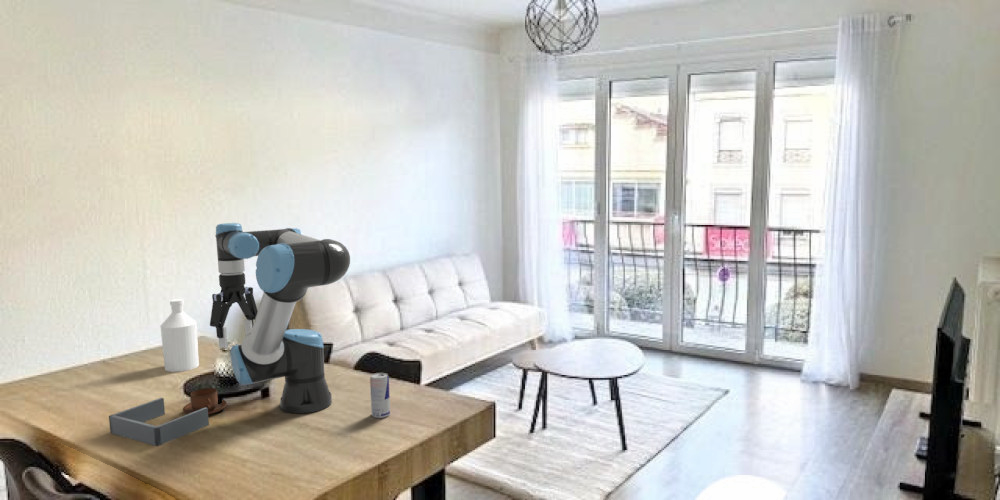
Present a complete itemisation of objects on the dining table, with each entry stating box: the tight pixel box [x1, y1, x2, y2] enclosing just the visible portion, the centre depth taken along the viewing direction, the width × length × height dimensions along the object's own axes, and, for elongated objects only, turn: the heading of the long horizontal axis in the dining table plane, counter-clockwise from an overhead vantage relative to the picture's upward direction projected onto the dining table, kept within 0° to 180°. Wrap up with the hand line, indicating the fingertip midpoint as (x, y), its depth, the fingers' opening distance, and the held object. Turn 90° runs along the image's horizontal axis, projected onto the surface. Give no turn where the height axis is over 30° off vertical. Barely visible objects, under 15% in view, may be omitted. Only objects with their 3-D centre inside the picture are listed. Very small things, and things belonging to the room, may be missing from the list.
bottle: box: [160, 298, 200, 373], centre depth 243 cm, size 12×12×25 cm
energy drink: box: [369, 372, 391, 419], centre depth 194 cm, size 5×5×12 cm
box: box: [108, 397, 210, 447], centre depth 187 cm, size 20×16×5 cm
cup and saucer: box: [182, 387, 227, 416], centre depth 200 cm, size 12×12×6 cm
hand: (236, 343), depth 209 cm, fingers open, 9 cm apart
